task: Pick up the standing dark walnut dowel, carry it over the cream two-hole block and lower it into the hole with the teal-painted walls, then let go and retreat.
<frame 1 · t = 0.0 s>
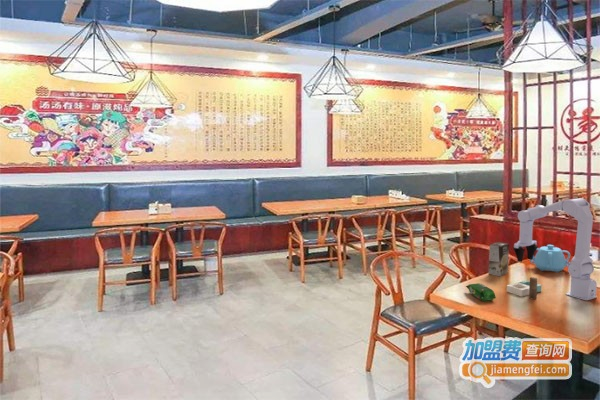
hand: (524, 260, 226), 10 cm above the table, fingers open, 7 cm apart
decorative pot: (549, 269, 243), on the table
coffee box: (498, 273, 239), on the table
hole block: (523, 291, 210), on the table
snack package: (480, 297, 205), on the table
walnut dowel: (532, 297, 202), on the table
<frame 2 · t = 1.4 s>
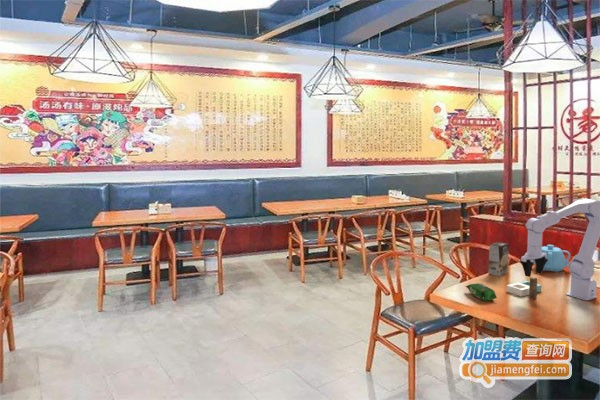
hand: (533, 274, 201), 10 cm above the table, fingers open, 7 cm apart
nothing on the table moved.
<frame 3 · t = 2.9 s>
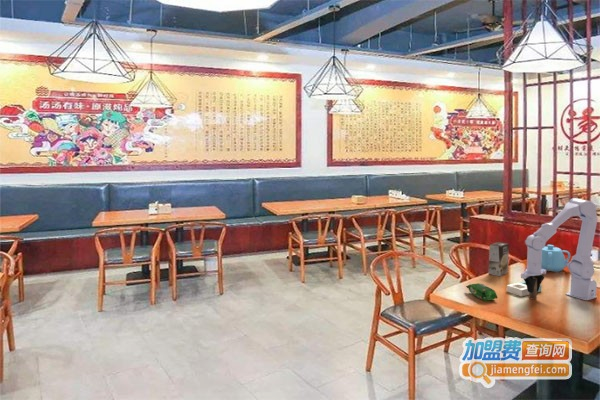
hand: (533, 291, 202), 3 cm above the table, fingers closed on walnut dowel, 3 cm apart
walnut dowel: (532, 297, 202), on the table, touching gripper
everything else where it was.
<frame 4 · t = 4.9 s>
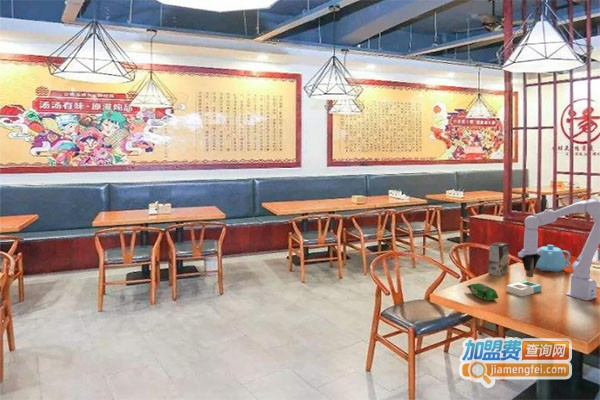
hand: (529, 269, 211), 10 cm above the table, fingers closed on walnut dowel, 3 cm apart
walnut dowel: (529, 276, 211), point 7 cm above the table, touching gripper
everything else where it was.
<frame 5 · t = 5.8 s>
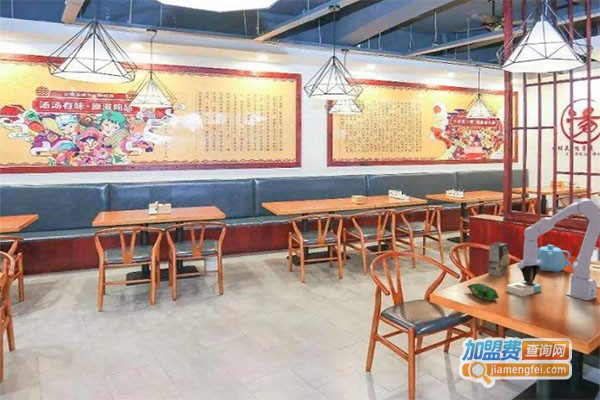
hand: (529, 280, 211), 5 cm above the table, fingers closed on walnut dowel, 3 cm apart
walnut dowel: (529, 287, 212), point 2 cm above the table, touching gripper
everything else where it was.
when the fingers open (3 cm above the table, at t = 6.8 s): walnut dowel stays where it is, resting in hole block.
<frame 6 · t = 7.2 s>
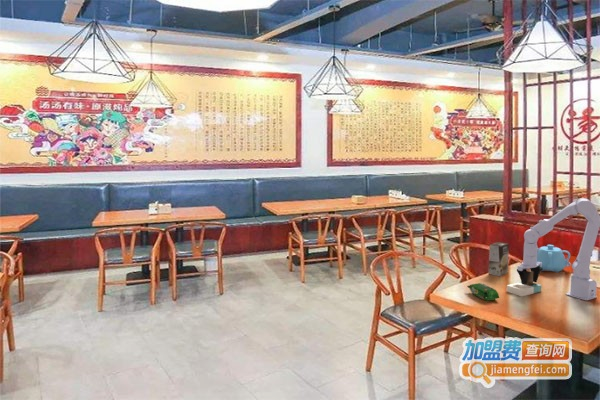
hand: (529, 283, 211), 3 cm above the table, fingers open, 7 cm apart
walnut dowel: (529, 290, 212), resting in hole block
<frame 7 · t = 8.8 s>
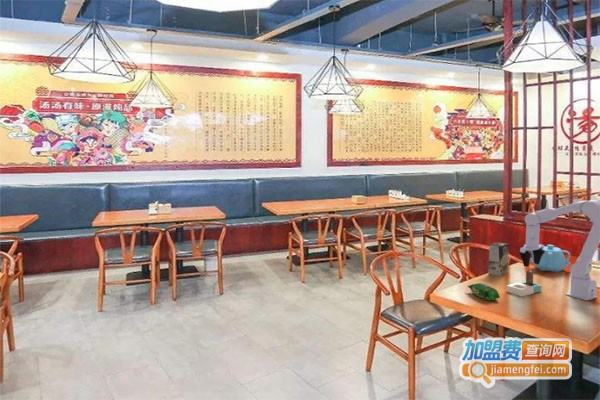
hand: (531, 265, 216), 10 cm above the table, fingers open, 7 cm apart
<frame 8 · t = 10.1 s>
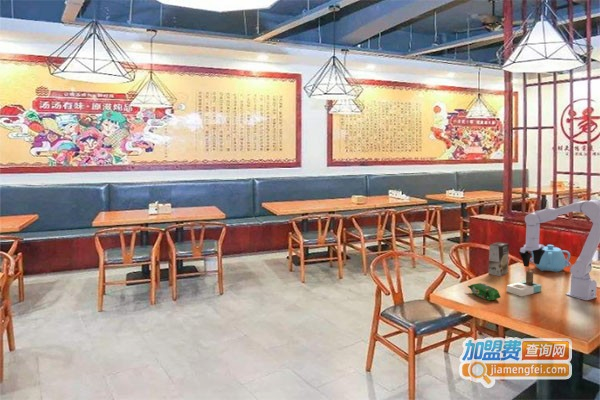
hand: (531, 265, 216), 10 cm above the table, fingers open, 7 cm apart
at the end: walnut dowel 0.1 cm from the target spot on the hole block, point 0.0 cm above the hole block's base; walnut dowel tilted 0°; the gripper is holding nothing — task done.
